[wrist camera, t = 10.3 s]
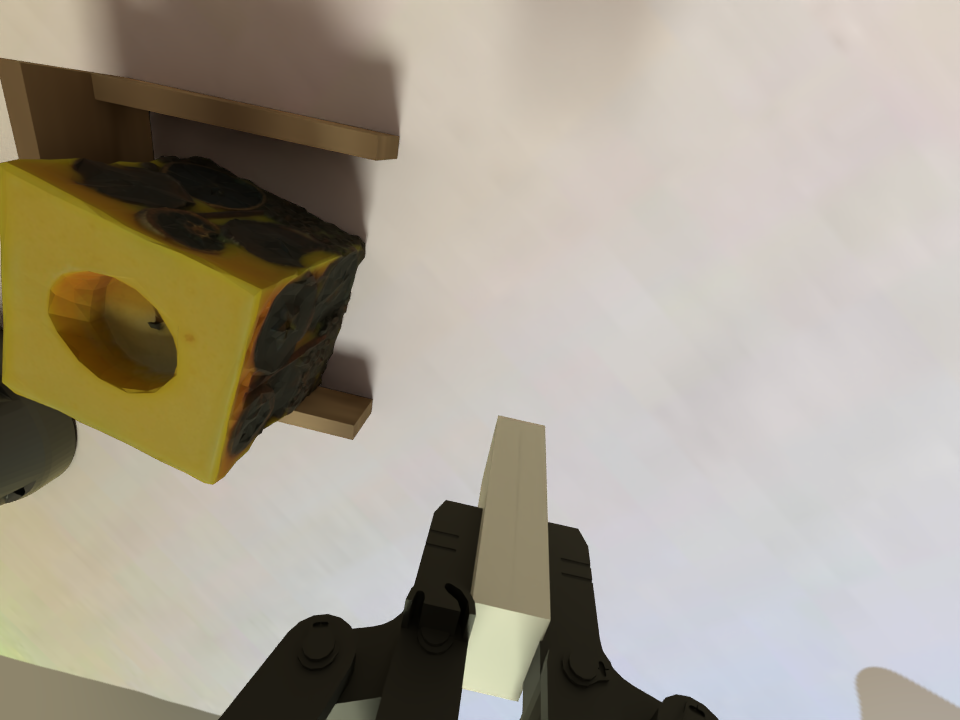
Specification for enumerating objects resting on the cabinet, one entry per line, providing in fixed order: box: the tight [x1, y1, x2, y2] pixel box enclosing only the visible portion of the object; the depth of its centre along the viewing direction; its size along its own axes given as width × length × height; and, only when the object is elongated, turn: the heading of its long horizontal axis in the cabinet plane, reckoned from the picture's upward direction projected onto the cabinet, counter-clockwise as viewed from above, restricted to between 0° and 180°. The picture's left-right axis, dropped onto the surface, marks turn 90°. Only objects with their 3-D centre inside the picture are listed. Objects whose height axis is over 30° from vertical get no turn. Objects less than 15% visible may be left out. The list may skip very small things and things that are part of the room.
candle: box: [0, 156, 365, 485], centre depth 22 cm, size 10×10×10 cm
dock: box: [0, 58, 399, 440], centre depth 23 cm, size 14×16×6 cm
